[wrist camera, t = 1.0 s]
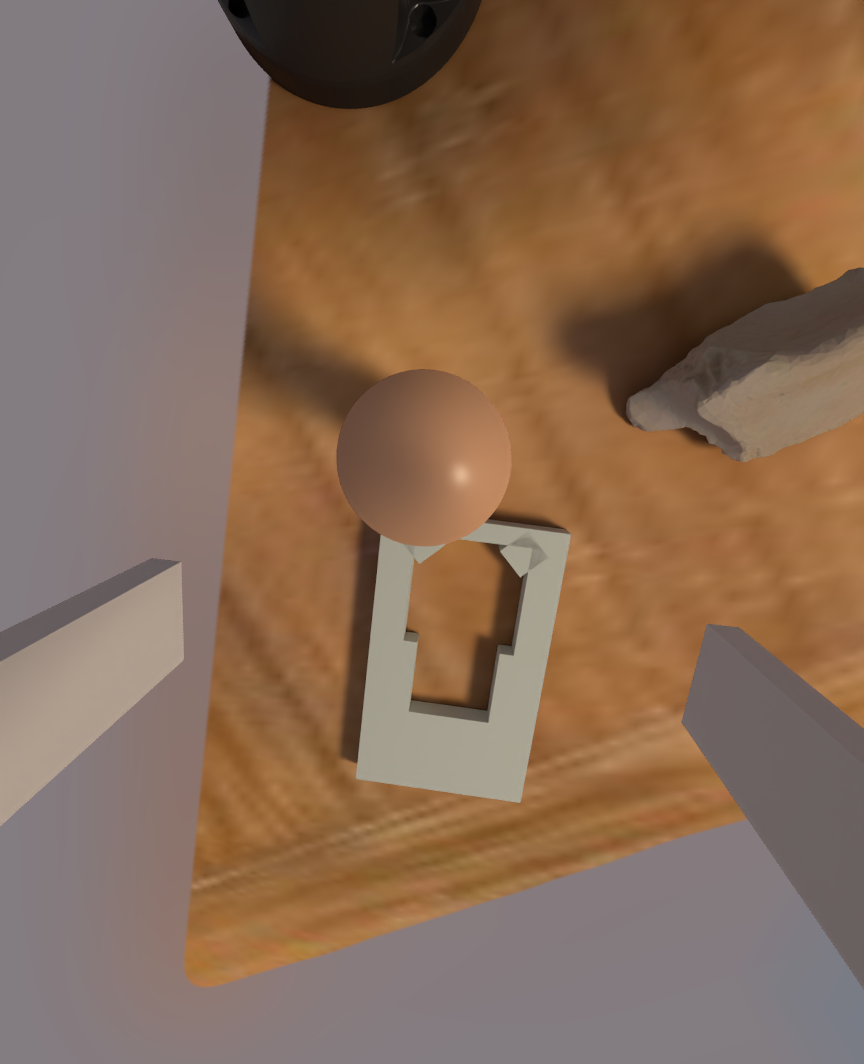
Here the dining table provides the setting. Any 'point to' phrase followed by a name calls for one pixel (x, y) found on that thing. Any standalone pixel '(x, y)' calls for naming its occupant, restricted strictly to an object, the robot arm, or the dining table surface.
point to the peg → (424, 457)
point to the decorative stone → (768, 375)
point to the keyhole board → (449, 731)
